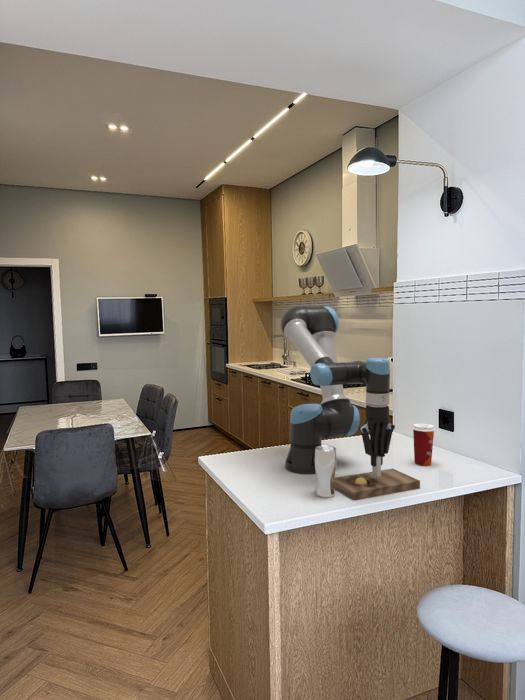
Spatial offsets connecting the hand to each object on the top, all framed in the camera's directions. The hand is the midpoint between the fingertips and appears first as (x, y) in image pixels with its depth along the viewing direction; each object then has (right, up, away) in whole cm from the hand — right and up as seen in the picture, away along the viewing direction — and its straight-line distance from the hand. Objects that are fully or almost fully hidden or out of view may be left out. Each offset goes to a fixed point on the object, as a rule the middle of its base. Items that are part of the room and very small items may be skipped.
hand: (376, 475), depth 163 cm
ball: (-6, -2, -2) cm, 7 cm away
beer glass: (-18, -5, -6) cm, 19 cm away
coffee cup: (+24, -2, +25) cm, 35 cm away
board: (-1, -4, 0) cm, 4 cm away
